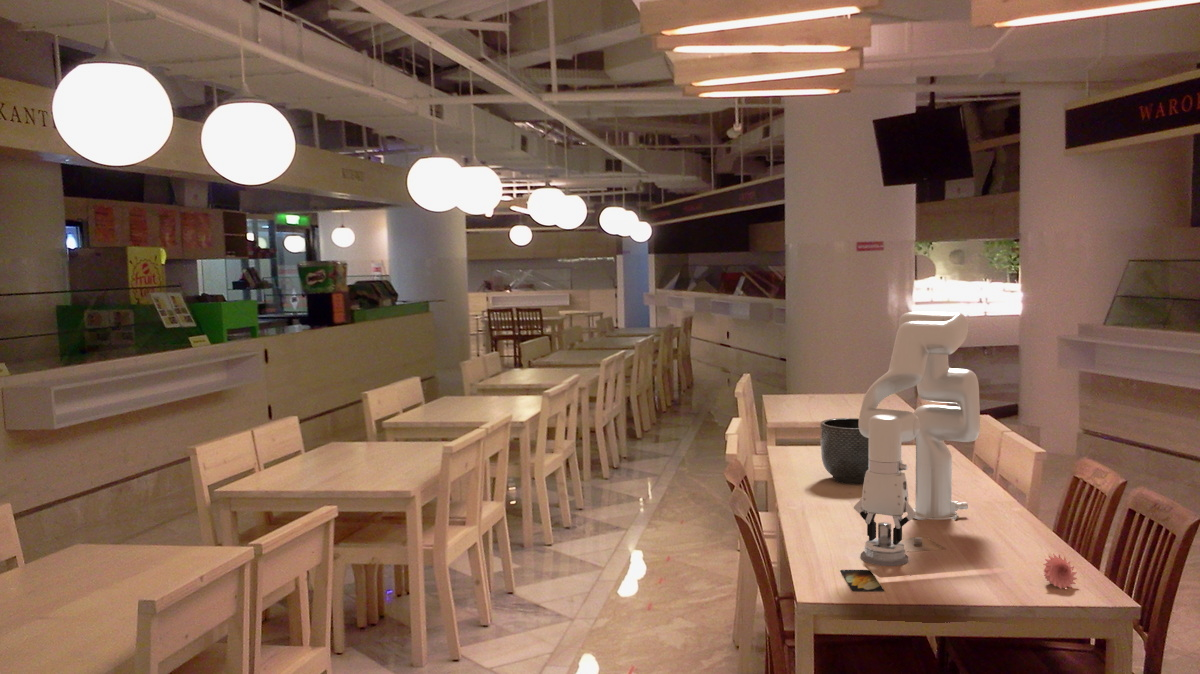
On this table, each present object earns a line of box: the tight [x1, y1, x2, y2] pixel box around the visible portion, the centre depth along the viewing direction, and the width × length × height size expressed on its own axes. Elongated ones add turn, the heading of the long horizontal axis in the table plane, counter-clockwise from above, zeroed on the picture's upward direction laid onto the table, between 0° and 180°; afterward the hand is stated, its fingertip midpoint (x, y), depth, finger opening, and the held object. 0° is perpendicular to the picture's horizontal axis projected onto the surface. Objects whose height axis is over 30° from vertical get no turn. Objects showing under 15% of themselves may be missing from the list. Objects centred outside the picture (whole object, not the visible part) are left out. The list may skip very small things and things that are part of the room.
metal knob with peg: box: [864, 521, 906, 562], centre depth 226 cm, size 9×9×8 cm
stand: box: [900, 536, 947, 553], centre depth 236 cm, size 10×10×3 cm
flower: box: [1043, 553, 1078, 590], centre depth 208 cm, size 8×8×6 cm
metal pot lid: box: [860, 550, 909, 567], centre depth 226 cm, size 11×11×3 cm
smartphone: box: [839, 569, 886, 594], centre depth 213 cm, size 7×1×15 cm
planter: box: [819, 417, 869, 485], centre depth 306 cm, size 20×20×19 cm
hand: (884, 540), depth 225 cm, fingers open, 5 cm apart
